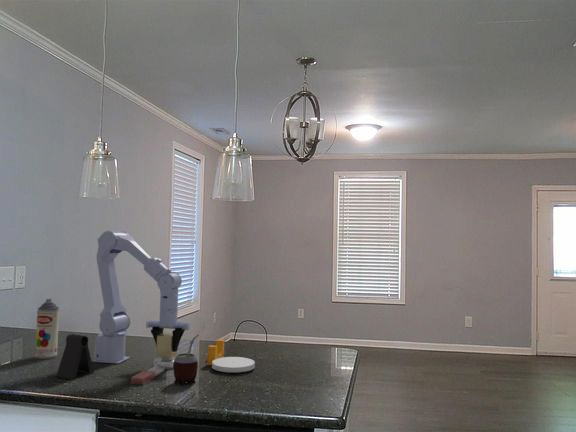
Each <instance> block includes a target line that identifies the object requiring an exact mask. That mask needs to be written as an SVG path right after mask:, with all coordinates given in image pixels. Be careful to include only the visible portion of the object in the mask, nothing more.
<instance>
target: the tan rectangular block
mask: <svg viewBox="0 0 576 432" xmlns="http://www.w3.org/2000/svg"><path fill="white" fill-rule="evenodd" d="M177 355H178V350H177V351H176V352H173V333H172V332H163V333H162V334H160V335H158V336H157V347H156V357H155V358H172V357H176V356H177Z"/></svg>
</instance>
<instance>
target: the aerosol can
mask: <svg viewBox="0 0 576 432" xmlns="http://www.w3.org/2000/svg"><path fill="white" fill-rule="evenodd" d="M52 300H53V299H52V298H46V300H45V302H43V303H42V304H41V306H40V307H38V308H37V313H36V315H37V316H36V331H35V333H36V334H35V354H34V355H35V356H34V359H36V360H51V359H52V360H53V359H55V358H57V357H58V339H59V338H58V336H59V320H60V307H59V306H57V304H55V303H54V301H52Z"/></svg>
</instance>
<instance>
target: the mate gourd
mask: <svg viewBox="0 0 576 432" xmlns="http://www.w3.org/2000/svg"><path fill="white" fill-rule="evenodd" d="M197 337H199V334H197V335H196V336H194V337H193V338H192V339H191V340H190V342H189V343H190V344H189V348H188V352H186V353H179V354H177V355H175V357H176V358H175V359H174V364H173V369H172V370H173V377H174V381H173V382H182V383H180V386H181V385H184V384H185V383H186V382H187V383H186V384H191V383H195V382H196V378H197V375H198V368H199V367H198V366H199V361H198V358H197V357H196V355H195V354H194V353H191V350H192V347H193V345H194V342H195V340H196V339H197ZM186 384H185V385H186ZM195 384H196V383H195ZM185 385H184V386H185Z"/></svg>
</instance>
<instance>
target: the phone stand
mask: <svg viewBox="0 0 576 432" xmlns="http://www.w3.org/2000/svg"><path fill="white" fill-rule="evenodd" d="M88 344H89V337H88V336H87V335H81V334H73V333H71V334H68V335H67V336H66V339H65V348H64V350H63V353H62V357H61V360H60V364H59V366H58V369H57V372H56V375H55V377H56V378H59V379H65V380H70V381H73V380H76V379H80V378H82V377H85V376H90V375H92V374H94V373H95V369H94V366H93V360H92V357H91V353H90V349H89V345H88Z"/></svg>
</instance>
